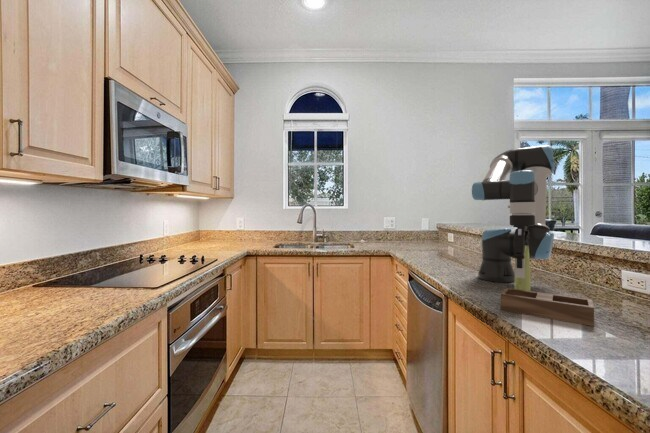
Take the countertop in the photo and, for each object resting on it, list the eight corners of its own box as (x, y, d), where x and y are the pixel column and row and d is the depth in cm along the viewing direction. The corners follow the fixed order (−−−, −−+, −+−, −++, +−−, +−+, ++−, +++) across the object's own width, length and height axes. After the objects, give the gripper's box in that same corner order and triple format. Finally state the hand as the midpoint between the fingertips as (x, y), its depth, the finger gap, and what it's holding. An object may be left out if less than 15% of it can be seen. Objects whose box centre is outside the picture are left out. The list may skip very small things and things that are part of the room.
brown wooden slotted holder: (505, 302, 101) (505, 287, 101) (591, 315, 87) (591, 299, 87) (500, 309, 94) (500, 294, 94) (594, 326, 80) (594, 307, 80)
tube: (535, 299, 104) (534, 244, 104) (528, 302, 101) (528, 245, 101) (517, 295, 109) (517, 243, 109) (510, 298, 106) (510, 244, 106)
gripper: (514, 214, 117) (514, 267, 117) (503, 215, 97) (504, 279, 98) (537, 214, 112) (537, 269, 112) (531, 214, 93) (531, 282, 93)
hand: (522, 274), depth 105 cm, fingers open, 13 cm apart
